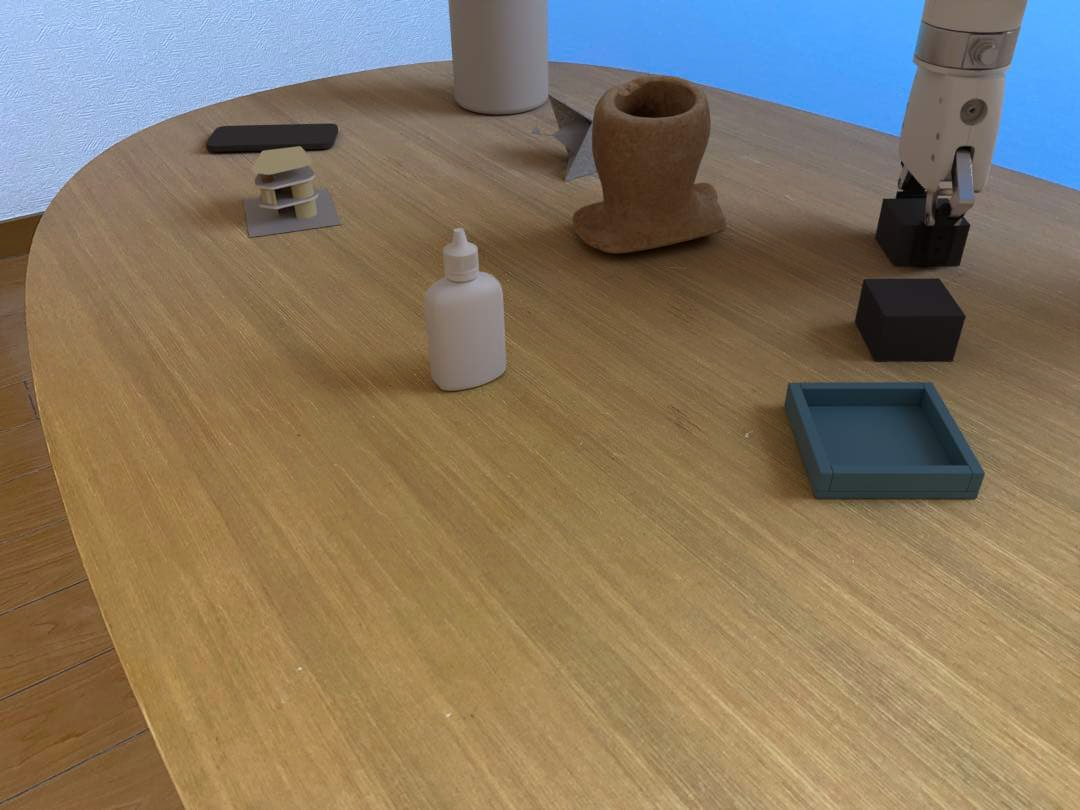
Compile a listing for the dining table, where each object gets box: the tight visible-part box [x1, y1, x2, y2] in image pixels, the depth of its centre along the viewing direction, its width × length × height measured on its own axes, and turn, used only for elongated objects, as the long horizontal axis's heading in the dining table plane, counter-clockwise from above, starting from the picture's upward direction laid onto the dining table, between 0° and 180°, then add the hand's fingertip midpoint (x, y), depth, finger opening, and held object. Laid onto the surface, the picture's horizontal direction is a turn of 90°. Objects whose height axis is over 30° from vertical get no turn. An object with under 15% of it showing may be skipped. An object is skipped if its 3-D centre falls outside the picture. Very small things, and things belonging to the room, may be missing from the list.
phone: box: [205, 122, 339, 153], centre depth 114 cm, size 7×1×15 cm
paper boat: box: [531, 93, 597, 183], centre depth 105 cm, size 12×6×9 cm
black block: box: [854, 277, 966, 362], centre depth 73 cm, size 6×6×4 cm
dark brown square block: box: [874, 197, 971, 267], centre depth 86 cm, size 6×6×4 cm
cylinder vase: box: [447, 0, 549, 115], centre depth 119 cm, size 12×12×25 cm
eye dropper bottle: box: [423, 227, 507, 392], centre depth 68 cm, size 4×6×12 cm
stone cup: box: [571, 74, 727, 254], centre depth 86 cm, size 15×12×15 cm
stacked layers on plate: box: [242, 146, 342, 238], centre depth 95 cm, size 10×9×6 cm
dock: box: [783, 381, 986, 500], centre depth 62 cm, size 10×10×2 cm
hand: (917, 245), depth 87 cm, fingers closed on dark brown square block, 6 cm apart
